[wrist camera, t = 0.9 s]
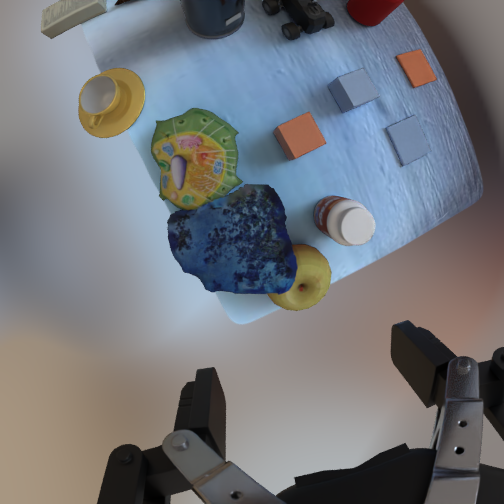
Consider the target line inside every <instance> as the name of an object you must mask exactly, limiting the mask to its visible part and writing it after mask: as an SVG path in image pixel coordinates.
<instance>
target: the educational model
mask: <svg viewBox="0 0 504 504" xmlns="http://www.w3.org/2000/svg"><path fill="white" fill-rule="evenodd" d="M156 123H157V125H156V129H155V132H154V135H153V138H152V143H151V153H152V156H153V158H154V160H155V161H156V162H157V164H158V166H159V167H160V169H161V179H160V195H159V196H160V198H161V199H162V200H163V201H164V200H165V199H168V200H169V201H170V202H171V203H173V204H174V205H175V206H176V207H178V208H180V209H182V210H190V209H192V210H196V209H198V207H202V206H203V205H205V204H208V202H213V201H214V200H215V199H219V198H220V197H221V198H224V197H225V195H227V194H228V192H229V191H230V190H231V189H233V188H234V187H236V186H238V185H240V184H241V183H242V182H243V181H242V180H240V179H239V178H238V177H237V176H236V167H237V161H238V150H237V145H236V141H235V136H236V135H237V134H238V133H239V132H238V131H236V130H235V129H234V128H233V127H232V126H231V125H230V124H228V123H227V122H225V121H224V120H222V119H221V118H219V117H218V116H216V115H215V114H214V113H212V112H210V111H207V110H203V109H199V108H192V109H190V110H188V111H187V112H186V113H184V114H183V115H180V116H176V117H173V118H170V119H168V120H165V121H156Z"/></svg>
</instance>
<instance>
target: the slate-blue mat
mask: <svg viewBox="0 0 504 504" xmlns="http://www.w3.org/2000/svg"><path fill="white" fill-rule="evenodd" d="M386 130H387V132H388V134H389V137H390V139H391V141H392V143H393V145H394V148H395V150H396V152H397V154H398V157H399V159H400V161H401V164H402V166H406V165H408V164H409V163H411V162H413V161H415V160H417V159H419V158H420V157H422V156H424V155H426V154H428V153H430V152H432V151H431V148H430V146H429V143H428V141H427V139H426V136H425V134H424V132H423V129H422V127H421V125H420V123H419V120H418V118H417V116H416V115H413V116H411V117H409V118H407V119H404V120H402V121H400V122H398V123H396V124H393V125H391V126H389V127H387V128H386Z"/></svg>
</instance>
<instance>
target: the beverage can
mask: <svg viewBox="0 0 504 504" xmlns="http://www.w3.org/2000/svg"><path fill="white" fill-rule="evenodd" d="M403 1H404V0H349V1H348V3H347V9H348V12H349V14H350V15H351V16H352V17H353V18H354V19H355V20H356V21H358V22H359V23H361V24H363V25H367V26H376V25H378V24H379V23H380V22H381V21H383V20H384V19H385V18H386V17H387V16H388V15H389V14H390V13H391V12H392V11H394V10H395V9H396V8H397V7H398V6H399V5H400V4H401V3H402V2H403Z"/></svg>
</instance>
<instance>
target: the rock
mask: <svg viewBox="0 0 504 504" xmlns="http://www.w3.org/2000/svg"><path fill="white" fill-rule="evenodd" d="M286 218H287V217H286V215H285V209H284V206H283V204H282V201H281V200H280V197H279V196H278V194H277V193H276V192H275V190H274V188H271V187H270V186H269V185H254V184H245V185H244V188H243V187H240V188H239V190H236V191H235V192H234V193H230V194H229V195H225V197H224V198H221V197H220V198H219V199H215V200H214V201H213V202H208V204H205V205H203V206H202V207H198V209H196V210H192V209H190V210H180V211H176V212H175V213H174V214H171V215H170V218H169V219H168V222H167V223H168V240H169V243H170V248H171V251H172V254H173V256H174V258H175V259H176V260H177V262H178V263H179V264H180V266H181V267H182V270H183V272H185V273H190V274H192V275H194V276H196V277H198V278H199V279H200V280H201V282H202V283H203V285H204V287H205V289H206V290H208V291H210V292H216V291H227V292H233V293H235V294H248V293H249V294H267V293H278V295H280V294H283V293H285V292H287V291H289V290H290V288H291V287H292V285H293V283H294V282H295V277H296V273H297V269H298V265H297V262H296V256H295V255H294V251H293V247H292V242H291V240H290V238H289V235H288V234H287V229H286V225H285V221H286Z"/></svg>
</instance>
